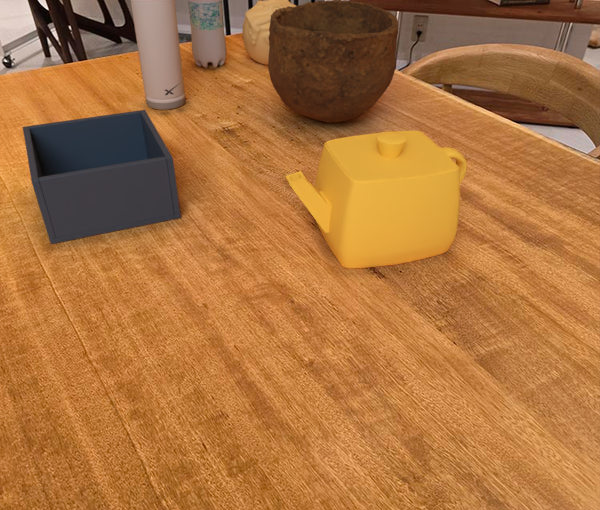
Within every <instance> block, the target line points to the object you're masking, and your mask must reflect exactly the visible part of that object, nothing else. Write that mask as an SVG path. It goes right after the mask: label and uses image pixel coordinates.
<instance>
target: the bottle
mask: <svg viewBox="0 0 600 510" xmlns="http://www.w3.org/2000/svg"><path fill="white" fill-rule="evenodd" d="M187 2H188V12H189V13H188V15H189V23H190V34H191V35H190V37H191V38H190V39H191V40H190V41H191V55H192V57H193V61H194V62H195V65H197V66H198V67H201V66H202V67H203V68H205V69H207V68H208V67H209V63H211V64H212V67H213V68H214V69H215V68H217V67H218V66H223V65H224V64H225V63H226V60H227V43H226V36H225V27H224V9H223V0H187Z"/></svg>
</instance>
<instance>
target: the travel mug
mask: <svg viewBox="0 0 600 510" xmlns="http://www.w3.org/2000/svg"><path fill="white" fill-rule="evenodd" d="M130 5H131V13H132V18H133V24H134V32H135V39H136V44H137V51H138V58H139V64H140V71H141V77H142V84H143V91H144V97H145V103H146V105H147V106H148V107H150V108H151V109H154V110H159V111H168V110H175V109H178V108H180V107H182V106H183V105H185V103H186V93H185V83H184V75H183V63H182V55H181V47H180V38H179V28H178V27H179V26H178V19H177V9H176V1H175V0H130Z"/></svg>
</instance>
